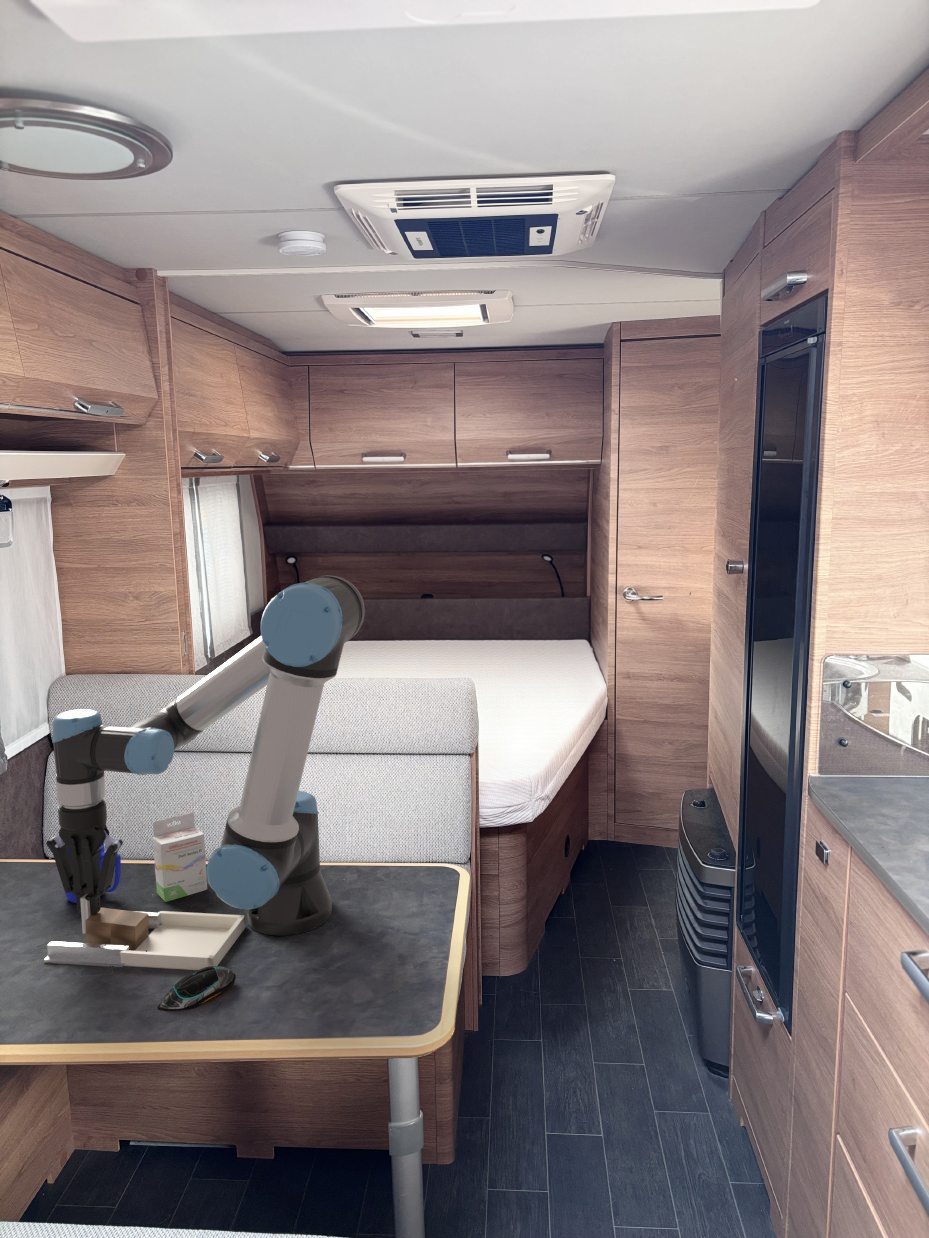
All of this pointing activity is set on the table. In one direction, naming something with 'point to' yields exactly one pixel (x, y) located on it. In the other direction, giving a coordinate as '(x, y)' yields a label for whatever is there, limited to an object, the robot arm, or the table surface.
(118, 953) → the slot rails
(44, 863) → the table surface
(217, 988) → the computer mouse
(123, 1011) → the table surface
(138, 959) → the tray
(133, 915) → the tan cardboard cube
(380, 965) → the table surface
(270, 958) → the table surface
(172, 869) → the ink box
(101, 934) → the brown shipping carton
